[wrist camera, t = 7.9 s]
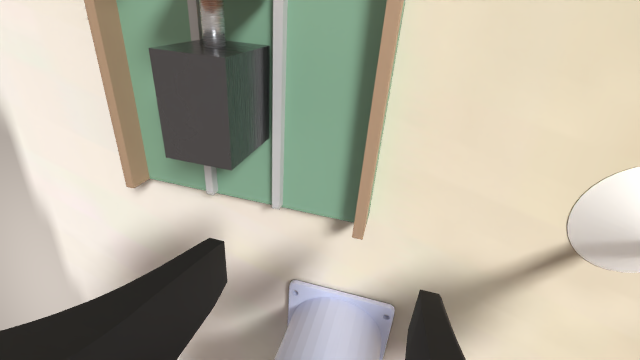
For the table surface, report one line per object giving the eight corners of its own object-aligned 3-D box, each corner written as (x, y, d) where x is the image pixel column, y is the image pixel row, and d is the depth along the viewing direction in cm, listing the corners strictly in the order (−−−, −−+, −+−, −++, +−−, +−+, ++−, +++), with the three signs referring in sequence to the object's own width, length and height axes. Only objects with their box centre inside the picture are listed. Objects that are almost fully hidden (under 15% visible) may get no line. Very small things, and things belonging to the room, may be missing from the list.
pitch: (368, 214, 22) (351, 282, 17) (154, 169, 25) (81, 214, 20) (439, -200, 13) (449, -342, 8) (89, -189, 16) (-76, -284, 11)
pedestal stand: (273, 138, 20) (233, 174, 15) (211, 127, 20) (157, 159, 16) (274, -41, 15) (220, -57, 11) (196, -46, 16) (119, -63, 12)
